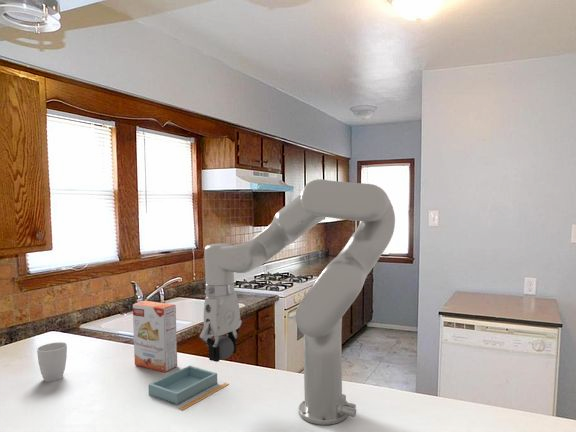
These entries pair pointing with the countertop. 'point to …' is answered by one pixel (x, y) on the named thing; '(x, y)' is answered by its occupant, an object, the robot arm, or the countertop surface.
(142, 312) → the cracker box
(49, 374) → the cup
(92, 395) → the countertop surface
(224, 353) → the ball
